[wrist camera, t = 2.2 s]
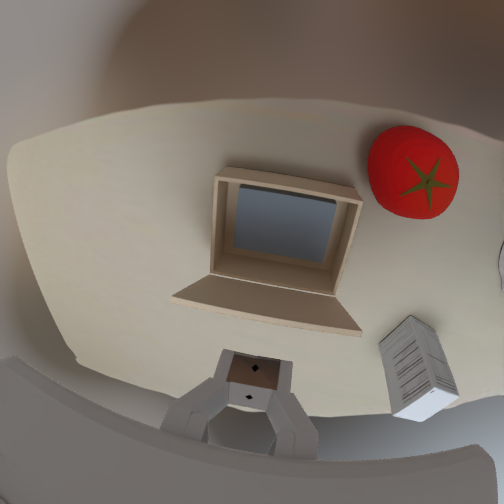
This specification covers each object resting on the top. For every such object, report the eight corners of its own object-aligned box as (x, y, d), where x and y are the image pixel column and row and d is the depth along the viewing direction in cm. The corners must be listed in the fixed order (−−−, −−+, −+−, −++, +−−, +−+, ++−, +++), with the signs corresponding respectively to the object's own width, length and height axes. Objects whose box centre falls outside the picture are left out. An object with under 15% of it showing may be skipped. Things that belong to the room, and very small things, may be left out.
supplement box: (377, 344, 49) (389, 416, 34) (409, 313, 44) (434, 386, 30) (406, 358, 50) (420, 423, 35) (436, 331, 45) (461, 397, 31)
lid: (362, 331, 23) (360, 338, 23) (335, 297, 37) (334, 302, 38) (170, 296, 25) (170, 303, 25) (209, 274, 39) (208, 279, 39)
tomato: (364, 117, 31) (386, 119, 22) (441, 134, 29) (481, 146, 20) (355, 196, 37) (372, 225, 28) (429, 207, 35) (461, 238, 26)
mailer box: (354, 188, 36) (363, 201, 31) (332, 272, 43) (335, 295, 38) (227, 166, 38) (214, 175, 33) (220, 252, 45) (210, 272, 39)
